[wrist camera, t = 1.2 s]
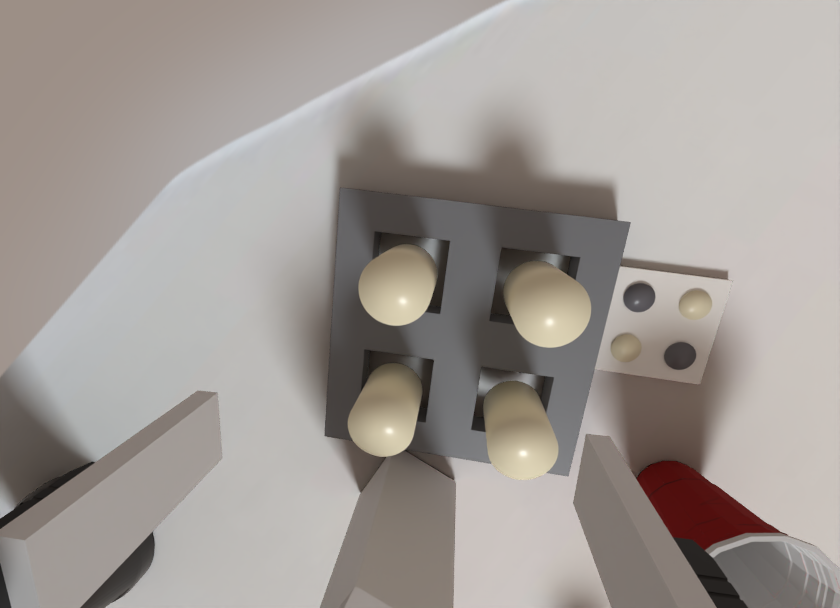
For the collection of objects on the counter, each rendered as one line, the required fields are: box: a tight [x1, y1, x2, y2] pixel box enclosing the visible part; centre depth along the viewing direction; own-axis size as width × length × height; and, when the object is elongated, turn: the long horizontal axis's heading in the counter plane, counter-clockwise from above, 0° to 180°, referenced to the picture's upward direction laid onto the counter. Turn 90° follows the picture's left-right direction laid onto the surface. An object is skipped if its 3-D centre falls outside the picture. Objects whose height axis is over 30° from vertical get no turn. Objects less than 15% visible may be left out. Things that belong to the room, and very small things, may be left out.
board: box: [325, 188, 631, 476], centre depth 34 cm, size 22×22×2 cm
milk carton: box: [320, 450, 456, 608], centre depth 31 cm, size 7×7×19 cm
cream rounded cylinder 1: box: [358, 244, 437, 326], centre depth 29 cm, size 5×5×6 cm
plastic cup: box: [636, 461, 840, 608], centre depth 31 cm, size 11×11×12 cm
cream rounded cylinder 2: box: [348, 363, 423, 457], centre depth 31 cm, size 5×5×6 cm
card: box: [595, 266, 733, 385], centre depth 33 cm, size 9×9×1 cm
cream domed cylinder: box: [503, 261, 591, 348], centre depth 28 cm, size 5×5×6 cm
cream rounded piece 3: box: [483, 381, 558, 480], centre depth 30 cm, size 5×5×6 cm
